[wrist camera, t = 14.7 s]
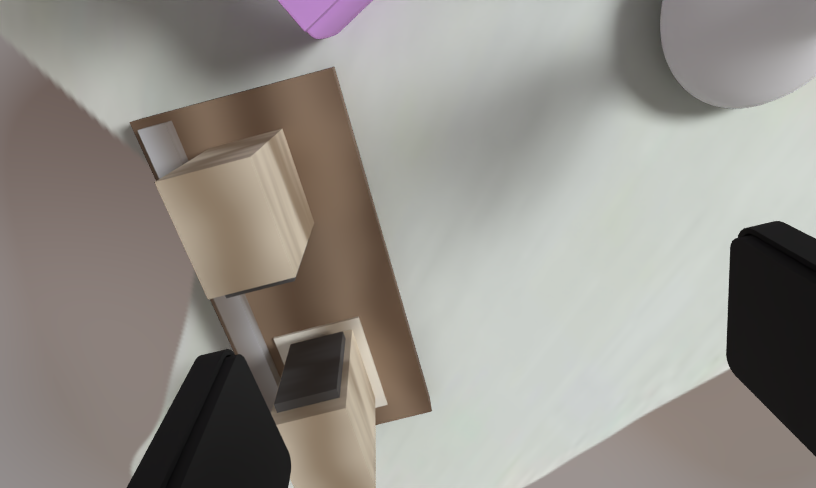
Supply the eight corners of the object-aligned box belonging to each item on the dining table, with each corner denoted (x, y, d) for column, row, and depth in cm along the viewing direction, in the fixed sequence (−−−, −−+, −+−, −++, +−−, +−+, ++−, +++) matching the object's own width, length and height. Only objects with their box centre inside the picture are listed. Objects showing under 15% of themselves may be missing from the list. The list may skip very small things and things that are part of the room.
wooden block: (317, 412, 36) (302, 505, 29) (287, 337, 34) (262, 418, 27) (375, 398, 36) (375, 488, 29) (349, 322, 34) (342, 399, 26)
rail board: (334, 66, 29) (316, 75, 21) (429, 398, 39) (446, 501, 30) (141, 118, 30) (43, 148, 21) (281, 434, 39) (254, 547, 30)
